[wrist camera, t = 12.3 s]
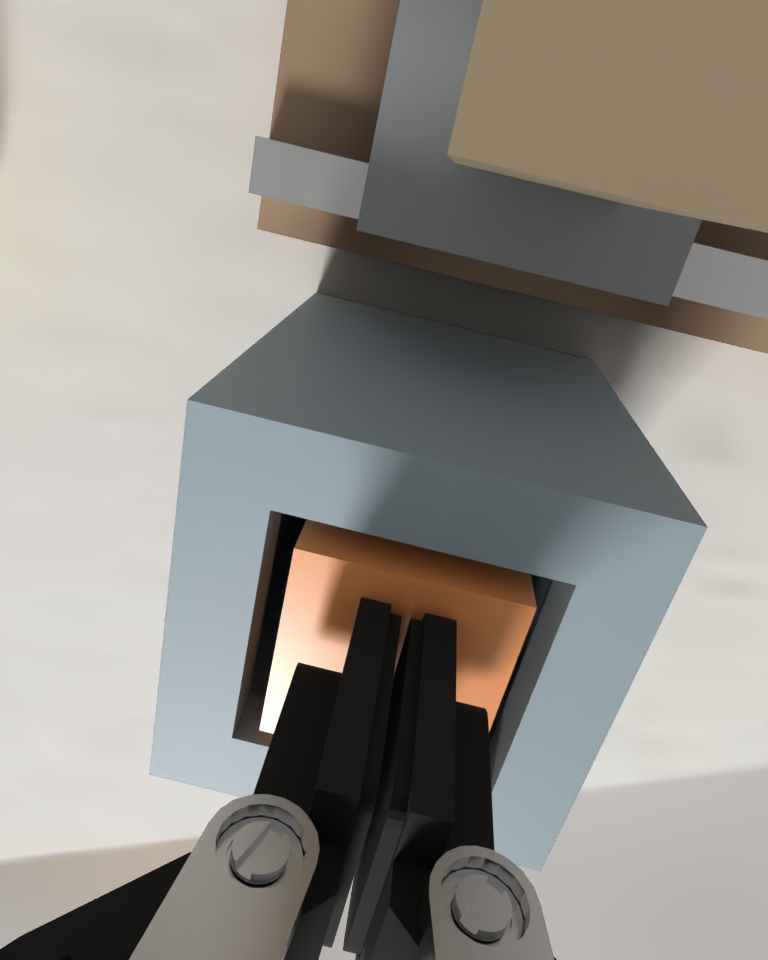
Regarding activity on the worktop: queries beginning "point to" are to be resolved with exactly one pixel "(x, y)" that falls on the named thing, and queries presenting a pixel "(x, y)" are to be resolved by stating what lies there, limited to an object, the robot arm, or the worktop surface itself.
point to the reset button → (397, 609)
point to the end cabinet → (419, 533)
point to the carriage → (572, 134)
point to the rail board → (333, 222)
